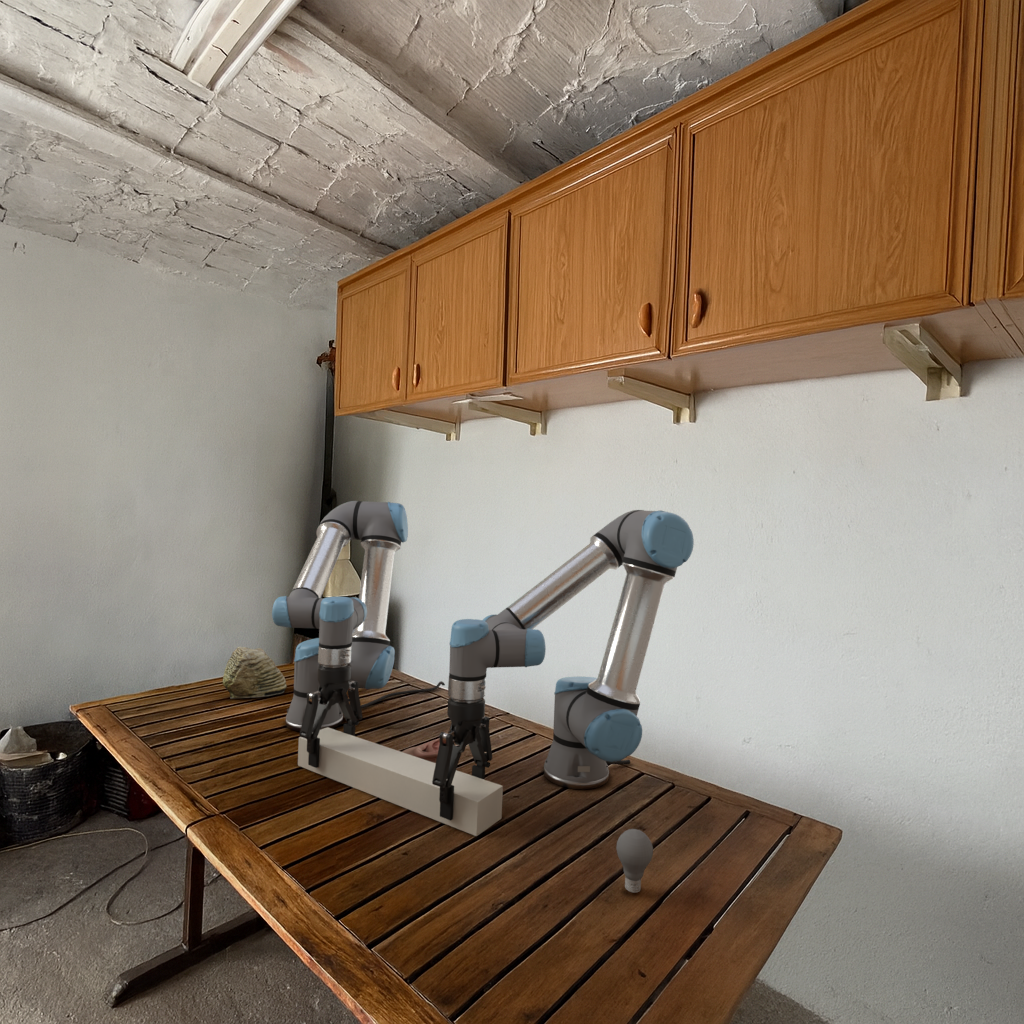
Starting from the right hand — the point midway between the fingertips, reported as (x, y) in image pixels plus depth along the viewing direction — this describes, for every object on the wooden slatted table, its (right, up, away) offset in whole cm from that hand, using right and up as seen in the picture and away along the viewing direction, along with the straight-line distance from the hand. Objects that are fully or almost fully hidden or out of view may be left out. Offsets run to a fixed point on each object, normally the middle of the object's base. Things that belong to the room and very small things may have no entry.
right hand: (462, 807), depth 128 cm
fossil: (-71, +2, +70) cm, 100 cm away
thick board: (-16, -1, +10) cm, 19 cm away
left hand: (-32, +2, +21) cm, 39 cm away
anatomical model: (-12, -1, +28) cm, 30 cm away
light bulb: (+30, -4, -22) cm, 38 cm away
